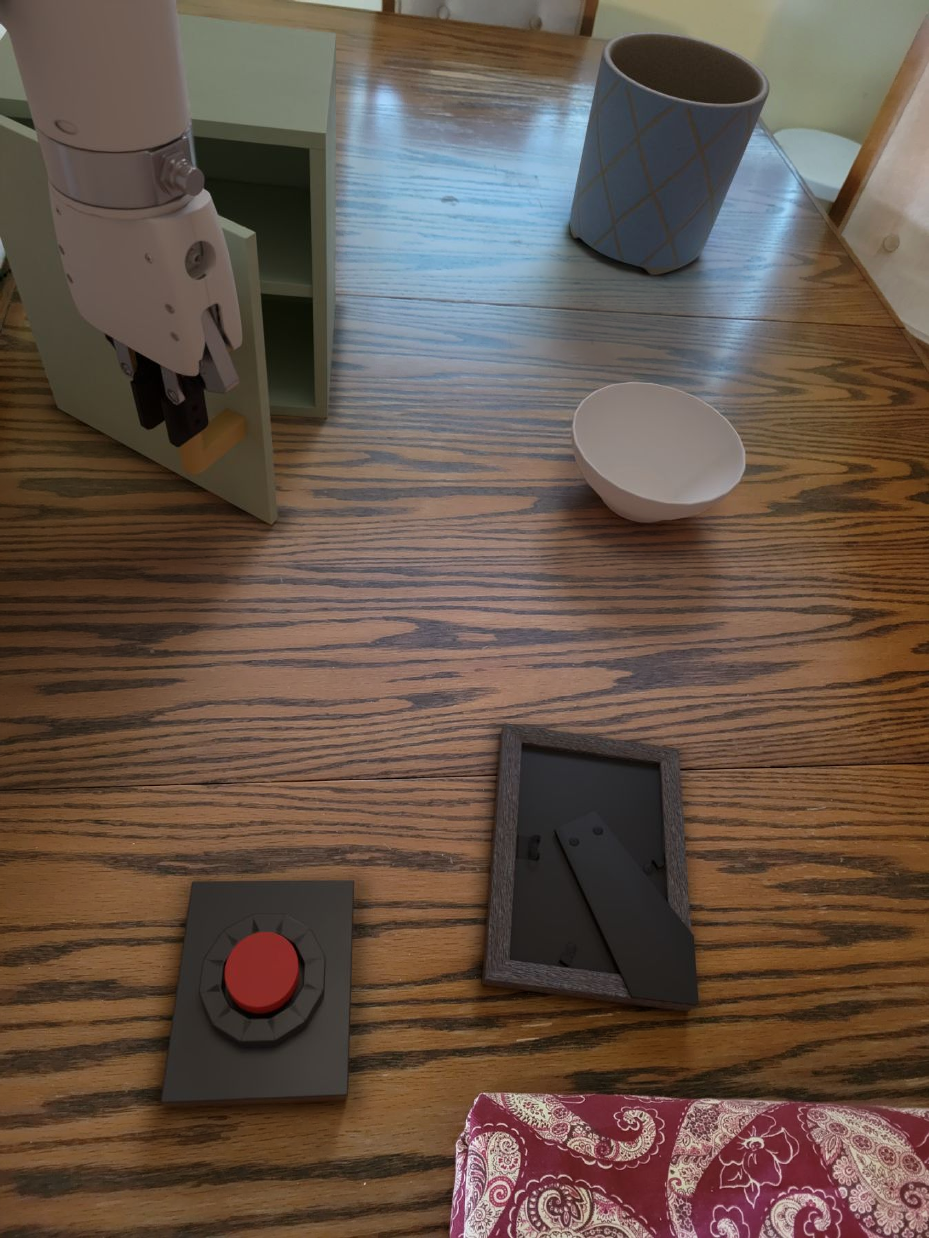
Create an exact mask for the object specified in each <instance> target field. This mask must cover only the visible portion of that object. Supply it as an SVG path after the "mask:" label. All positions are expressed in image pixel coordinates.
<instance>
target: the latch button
mask: <svg viewBox="0 0 929 1238" xmlns="http://www.w3.org/2000/svg"><path fill="white" fill-rule="evenodd" d="M298 981H299V964H298V958H297V954H296V952H295V949H294V948H293V946H292V945H291V943H290V942H289V941H288V940H287V939H285V938H284V937H283V936H281V935H279V934H276V933H272V932H259V933H255V934H252V935H250V936H248V937H246V938H244V939H243V940H241V941H240V942H239V943H238V944H237V945H236V946H235V947H234V948H233V950H232V951H231V953H230V955H229V957H228V959H227V962H226V966H225V982H226V986H227V988H228V991H229V993H230V995H231V997H232V999H233V1000H234V1002H235V1003H236V1004H237V1005H238V1006H239V1007H240V1008H242V1009H243V1010H245V1011H247V1012H250V1013H254V1014H265V1013H269V1012H272V1011H275V1010H277V1009H279V1008H280V1007H282V1006H283V1005H284V1004H285V1003H286V1002H287V1001H288V1000H289V999H290V998H291V997H292V995H293V994H294V992H295V990H296V987H297V985H298Z"/></svg>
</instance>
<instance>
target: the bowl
mask: <svg viewBox="0 0 929 1238" xmlns="http://www.w3.org/2000/svg"><path fill="white" fill-rule="evenodd" d="M570 432H571V433H570V441H571V447H572V452H573V456H574V462H575V463H576V465H577V467H578V469H579V471H580V473H581V474H582V476H583V478H584V479H585V481H586V483H587V484H588V485H589V486H590V487H591V489H593V490H594V492H596V494H597V495H598V496H599V497H600V498H601V500H602V502H603V503H604V505H606V506H607V508H608V509H609V510H611V511H612V512H614V513H615V514H616V515H617V516H619V517H621V518H624V519H626V520H629V521H632V522H636V523H645V524H651V523H657V522H661V521H674V520H678V519H683V518H684V519H685V518H689V517H693V516H696V515H698V514H701V513H703V512H705V511H708V510H710V509H712V508H714V507H716V506H717V505H719V504H720V503H721V502H723V501H724V500H725V499H726V498H727V497H728V496H729V495H730V494H731V493H732V492H733V491H734V490H735V489H736V488H737V486H738V485H739V484H740V483H741V480H742V478H743V475H744V473H745V471H746V450H745V447H744V444H743V442H742V439H741V436H740V435H739V433H738V432H737V431H736V429H735V428H734V426H733V425H732V424H731V422H730V421H729V420H728V419H727V418H726V417H724V415H722V414H721V413H720V412H719V411H718V410H717V409H716V408H715V407H714V406H711V405H710V404H708V403H707V402H705V401H704V400H702V399H700V398H699V397H697V396H696V395H692V394H691V393H688V392H685V391H682V390H681V389H678V388H675V387H672V386H666V385H663V384H657V383H653V382H642V381H641V382H639V381H629V382H620V383H613V384H609V385H607V386H604V387H602V388H599V389H596V390H594V391H593V392H592V393H591V394H589V395H588V396H586V397H585V398H584V399H582V400H581V402H580V403H579V405H578V407H577V408H576V410H575V411H574V413H573V418H572V424H571V431H570Z"/></svg>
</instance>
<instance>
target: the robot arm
mask: <svg viewBox="0 0 929 1238" xmlns="http://www.w3.org/2000/svg"><path fill="white" fill-rule="evenodd" d="M178 14H179V13H178V6H177V0H0V25H1V26H2V27H3V28H4V29H5V30H6V31H7V32H8V34H9V36H10V39H11V43H12V47H13V50H14V54H15V57H16V61H17V65H18V68H19V72H20V76H21V79H22V83H23V87H24V90H25V94H26V98H27V101H28V105H29V109H30V112H31V116H32V120H33V123H34V127H35V130H36V134H37V138H38V141H39V145H40V149H41V152H42V156H43V160H44V163H45V167H46V171H47V174H48V186H49V194H50V202H51V209H52V215H53V221H54V227H55V232H56V237H57V242H58V246H59V251H60V255H61V260H62V264H63V267H64V271H65V275H66V279H67V282H68V285H69V288H70V291H71V294H72V297H73V300H74V302H75V305H76V307H77V309H78V311H79V313H80V314H81V316H82V317H83V318H84V319H85V320H86V321H88V322H89V323H90V324H91V325H93V326H94V327H96V328H97V329H99V330H100V331H102V332H104V334H105V337H106V339H107V340H108V341H109V342H110V343H111V345H112V346H113V347H114V349H115V350H116V353H117V357H118V361H119V365H120V368H121V370H122V372H123V373H124V374H125V375H126V376H127V377H129V378H133V380H132V381H130V384H131V388H132V392H133V397H134V401H135V405H136V409H137V413H138V417H139V421H140V425H141V426H142V427H144V428H145V429H147V430H150V429H153V428H155V427H156V426H158V425H159V424H161V423H162V422H164V421H165V424H166V428H167V433H168V438H169V441H170V443H171V444H172V445H174V446H175V447H181V446H182V445H183V444H185V443H186V442H187V441H189V440H190V439H191V438H193V437H194V436H196V435H197V434H199V433H200V432H201V431H202V430H204V429H205V428H206V427H207V426H208V423H209V421H208V415H207V408H206V402H205V396H204V390H207V391H208V392H214V393H221V394H225V393H227V392H228V391H229V390H231V389H232V388H234V387H235V386H236V385H238V384H239V381H240V380H239V377H238V375H237V372H236V370H235V367H234V365H233V363H232V360H231V358H230V355H229V353H228V351H227V348H226V347H228V348H230V349H232V350H235V349H237V348H239V347H240V346H241V344H242V327H241V319H240V312H239V305H238V299H237V293H236V287H235V282H234V276H233V271H232V267H231V262H230V257H229V253H228V249H227V245H226V241H225V237H224V234H223V230H222V227H221V224H220V221H219V217H218V214H217V211H216V209H215V206H214V203H213V200H212V198H211V195H210V193H209V192H208V191H206V190H205V189H203V187H204V183H205V179H204V174H203V172H202V171H201V170H200V169H198V166H197V159H196V151H195V143H194V135H193V128H192V120H191V114H190V105H189V100H188V90H187V82H186V74H185V66H184V59H183V51H182V43H181V36H180V28H179V20H178ZM181 374H182V375H186V376H184V377H183V378H182V375H181Z"/></svg>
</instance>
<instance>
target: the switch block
mask: <svg viewBox="0 0 929 1238" xmlns="http://www.w3.org/2000/svg"><path fill="white" fill-rule="evenodd" d="M354 901H355V880H353V879H349V880H347V879H346V880H343V879H341V880H340V879H339V880H220V881H219V880H214V881H213V880H208V881H207V880H206V881H204V880H203V881H202V880H201V881H197V880H196V881H192V882H191V886H190V892H189V900H188V908H187V913H186V922H185V928H184V934H183V935H184V936H183V940H182V941H183V942H182V949H181V954H180V955H181V956H180V964H179V971H178V976H177V983H176V991H175V997H174V1005H173V1012H172V1019H171V1027H170V1032H169V1039H168V1048H167V1055H166V1061H165V1067H164V1073H163V1082H162V1089H161V1095H160V1104H162V1105H163V1106H164V1107H165V1108H170V1109H172V1108H193V1107H197V1108H198V1107H221V1106H243V1105H245V1106H247V1105H268V1104H269V1105H270V1104H293V1103H317V1102H318V1103H320V1102H341V1101H343V1102H344V1101H345V1102H346V1101H348V1099H349V1082H350V1081H349V1080H350V1079H349V1076H350V1074H349V1073H350V1048H351V1047H350V1041H351V1012H352V1011H351V1008H352V1007H351V1006H352V975H353V974H352V973H353V971H352V970H353V939H354V938H353V937H354V907H355V906H354ZM259 932H272V933H276V934H279V935H281V936H283V937H284V938H285V939H287V940H288V941H289V942H290V943H291V945H292V946H293V948H294V949H295V952H296V954H297V958H298V964H299V981H298V985H297V987H296V990H295V992H294V994H293V995H292V997H291V998H290V999H289V1000H288V1001H287V1002H286V1003H285V1004H284V1005H283V1006H282V1007H280V1008H279V1009H277V1010H275V1011H272V1012H269V1013H265V1014H254V1013H250V1012H247V1011H245V1010H243V1009H242V1008H240V1007H239V1006H238V1005H237V1004H236V1003H235V1002H234V1000H233V999H232V997H231V995H230V993H229V991H228V988H227V986H226V982H225V966H226V962H227V959H228V957H229V955H230V953H231V951H232V950H233V948H234V947H235V946H236V945H237V944H238V943H239V942H240V941H241V940H243V939H244V938H246V937H248V936H250V935H252V934H255V933H259Z"/></svg>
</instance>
